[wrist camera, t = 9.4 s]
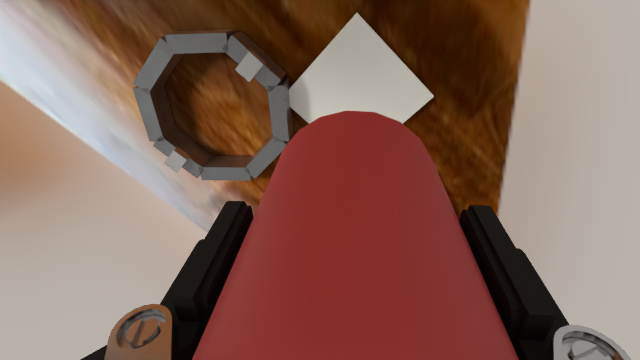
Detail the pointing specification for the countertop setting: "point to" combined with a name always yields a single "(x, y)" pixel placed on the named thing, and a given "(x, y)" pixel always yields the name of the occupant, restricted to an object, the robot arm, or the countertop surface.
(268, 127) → the countertop surface
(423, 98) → the plate
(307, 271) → the beer can
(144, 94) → the collar
